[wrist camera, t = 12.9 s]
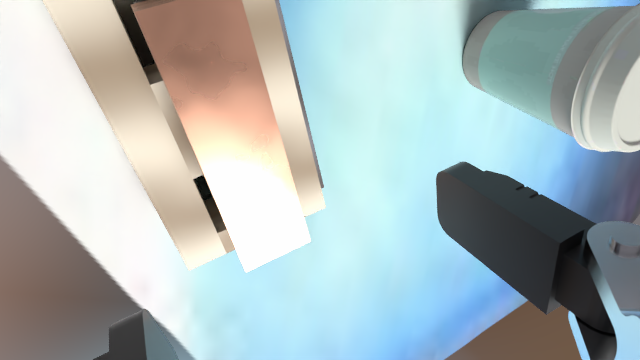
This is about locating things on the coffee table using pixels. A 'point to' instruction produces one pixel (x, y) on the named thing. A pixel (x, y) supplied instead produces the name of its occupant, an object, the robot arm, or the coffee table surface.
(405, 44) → the coffee table surface
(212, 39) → the pinkish brown rectangular block
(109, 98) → the rail
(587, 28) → the coffee cup
